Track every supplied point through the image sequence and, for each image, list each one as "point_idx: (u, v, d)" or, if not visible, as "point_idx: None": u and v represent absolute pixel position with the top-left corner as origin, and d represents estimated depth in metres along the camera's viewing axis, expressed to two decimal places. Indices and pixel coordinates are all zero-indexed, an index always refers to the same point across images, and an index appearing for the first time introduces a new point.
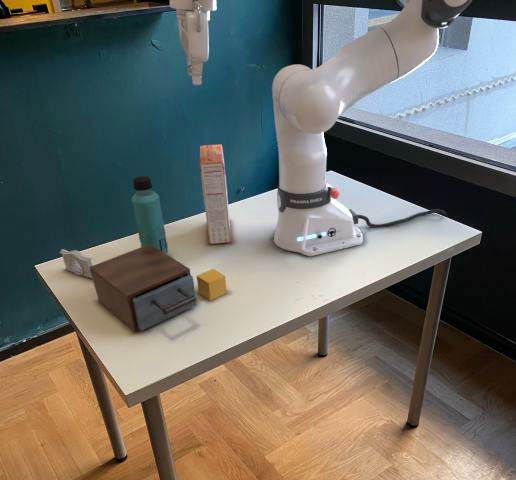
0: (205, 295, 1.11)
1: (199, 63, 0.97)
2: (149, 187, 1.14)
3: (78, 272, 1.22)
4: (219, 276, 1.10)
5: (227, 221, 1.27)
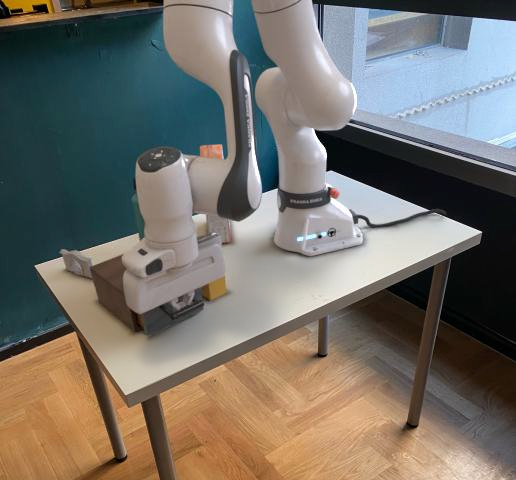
0: (205, 295, 1.11)
1: None
2: None
3: (78, 272, 1.22)
4: None
5: (227, 221, 1.27)
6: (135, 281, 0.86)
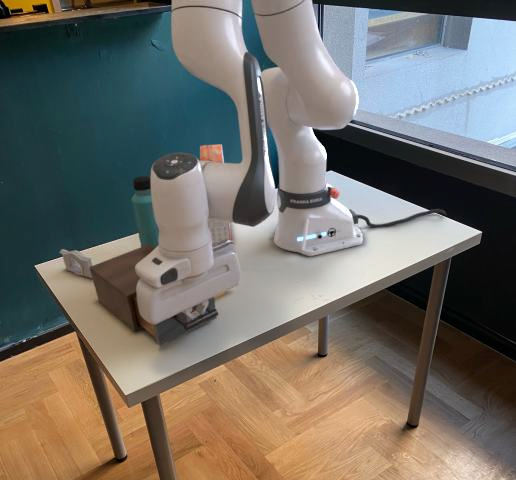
0: None
1: None
2: (149, 187, 1.14)
3: (78, 272, 1.22)
4: None
5: None
6: (149, 291, 0.83)
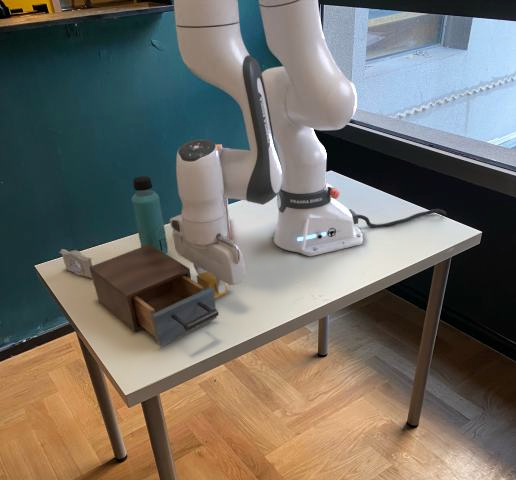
0: None
1: None
2: (149, 187, 1.14)
3: (78, 272, 1.22)
4: None
5: (227, 221, 1.27)
6: None
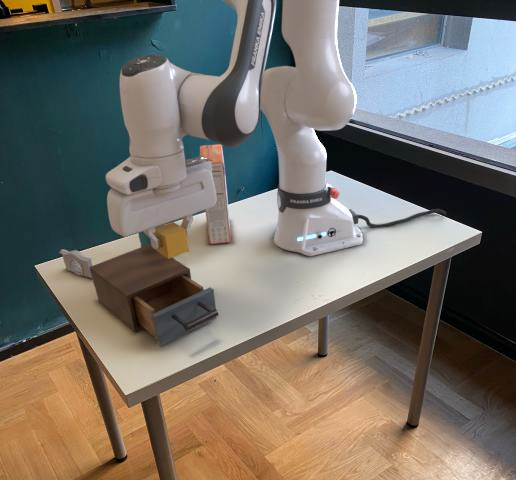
0: (180, 251, 0.94)
1: None
2: None
3: (78, 272, 1.22)
4: (173, 224, 0.94)
5: (227, 221, 1.27)
6: (118, 199, 0.82)
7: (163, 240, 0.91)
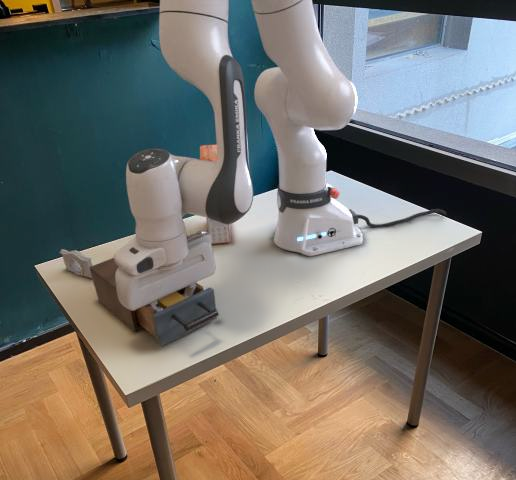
0: None
1: None
2: None
3: (78, 272, 1.22)
4: (175, 293, 1.01)
5: None
6: (126, 279, 0.89)
7: None
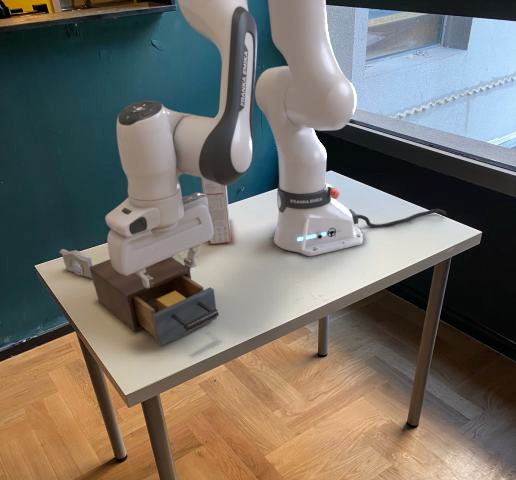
0: None
1: None
2: None
3: (78, 272, 1.22)
4: (175, 293, 1.01)
5: (227, 221, 1.27)
6: (119, 241, 0.84)
7: None
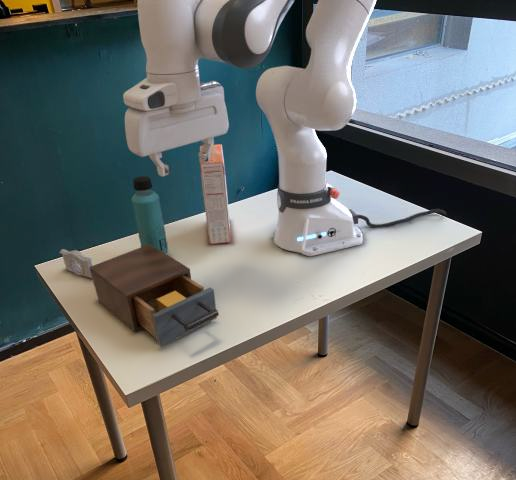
0: None
1: None
2: (149, 187, 1.14)
3: (78, 272, 1.22)
4: (175, 293, 1.01)
5: (227, 221, 1.27)
6: (136, 116, 0.85)
7: None
